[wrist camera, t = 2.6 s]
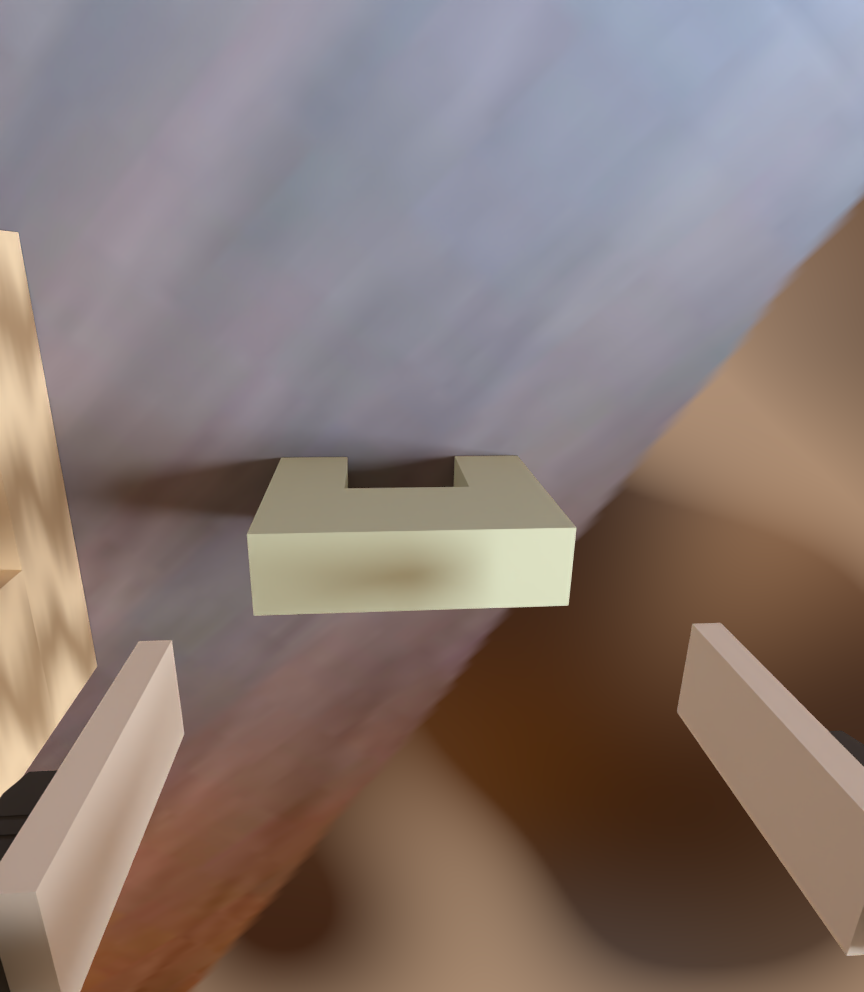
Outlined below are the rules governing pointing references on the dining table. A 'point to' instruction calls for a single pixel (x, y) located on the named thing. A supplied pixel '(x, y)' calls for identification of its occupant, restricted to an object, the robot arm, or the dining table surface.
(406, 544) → the sage plate
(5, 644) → the birch board
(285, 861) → the dining table surface
